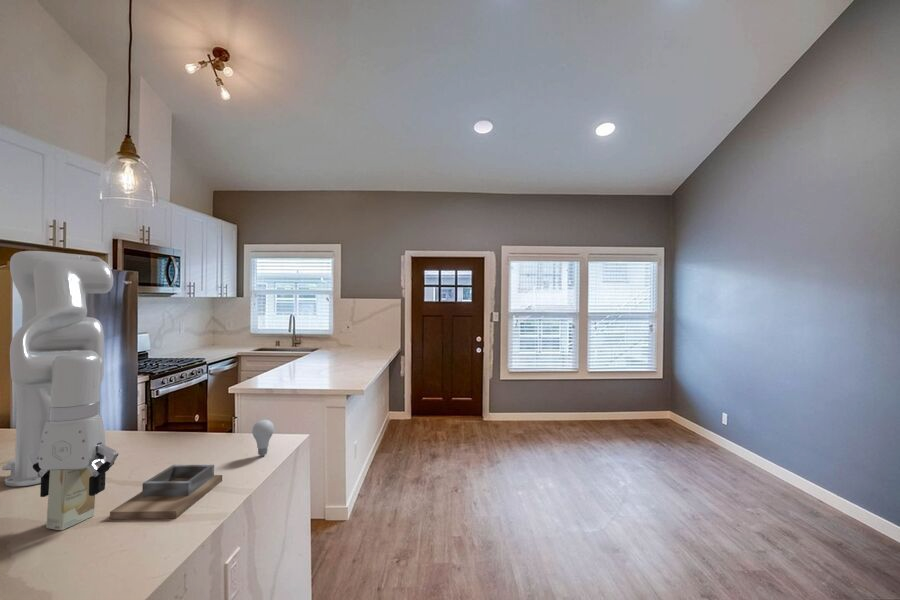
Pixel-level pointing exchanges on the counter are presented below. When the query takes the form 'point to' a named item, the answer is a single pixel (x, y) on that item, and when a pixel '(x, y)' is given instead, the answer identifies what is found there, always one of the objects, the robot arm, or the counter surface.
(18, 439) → the robot arm
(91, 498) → the skincare box
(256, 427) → the lightbulb
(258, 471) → the counter surface
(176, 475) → the holder board
